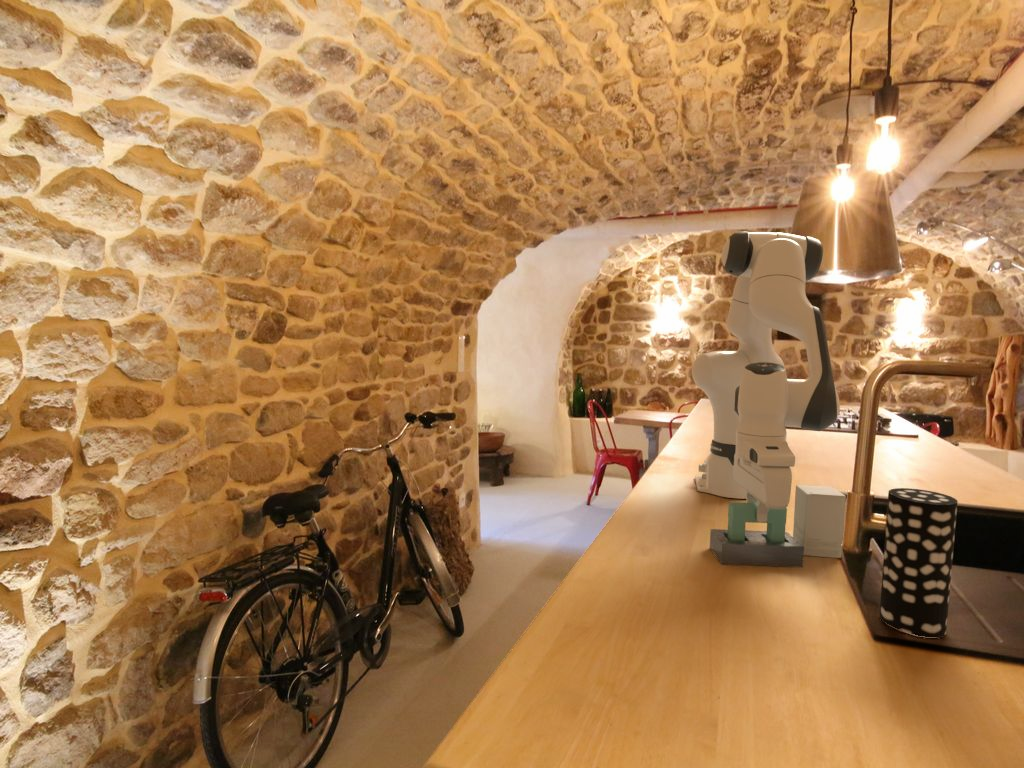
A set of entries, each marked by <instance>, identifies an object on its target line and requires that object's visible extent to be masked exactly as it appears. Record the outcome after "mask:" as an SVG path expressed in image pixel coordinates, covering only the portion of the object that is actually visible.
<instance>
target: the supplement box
mask: <svg viewBox="0 0 1024 768" xmlns="http://www.w3.org/2000/svg"><path fill="white" fill-rule="evenodd" d="M794 492H795V495H794V512H793V515H794V516H793V531H792V537H793V538H794V539H796V540H797V541H798V542H799V543H800V544H801V545H803V546H804V556H811V557H821V558H834V559H842V558H841V555H842V556H843V549H842V547H841V544H842V541H843V542H844V533H845V532H844V531H845V529H844V528H845V515H846V514H845V513H846V499H847V496H846V495H845V494H843V493H842V492H841V491H840V490H838V489H836V488H835V487H834V486H827V485H806V484H804V485H803V484H796V485H795V491H794Z"/></svg>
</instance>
